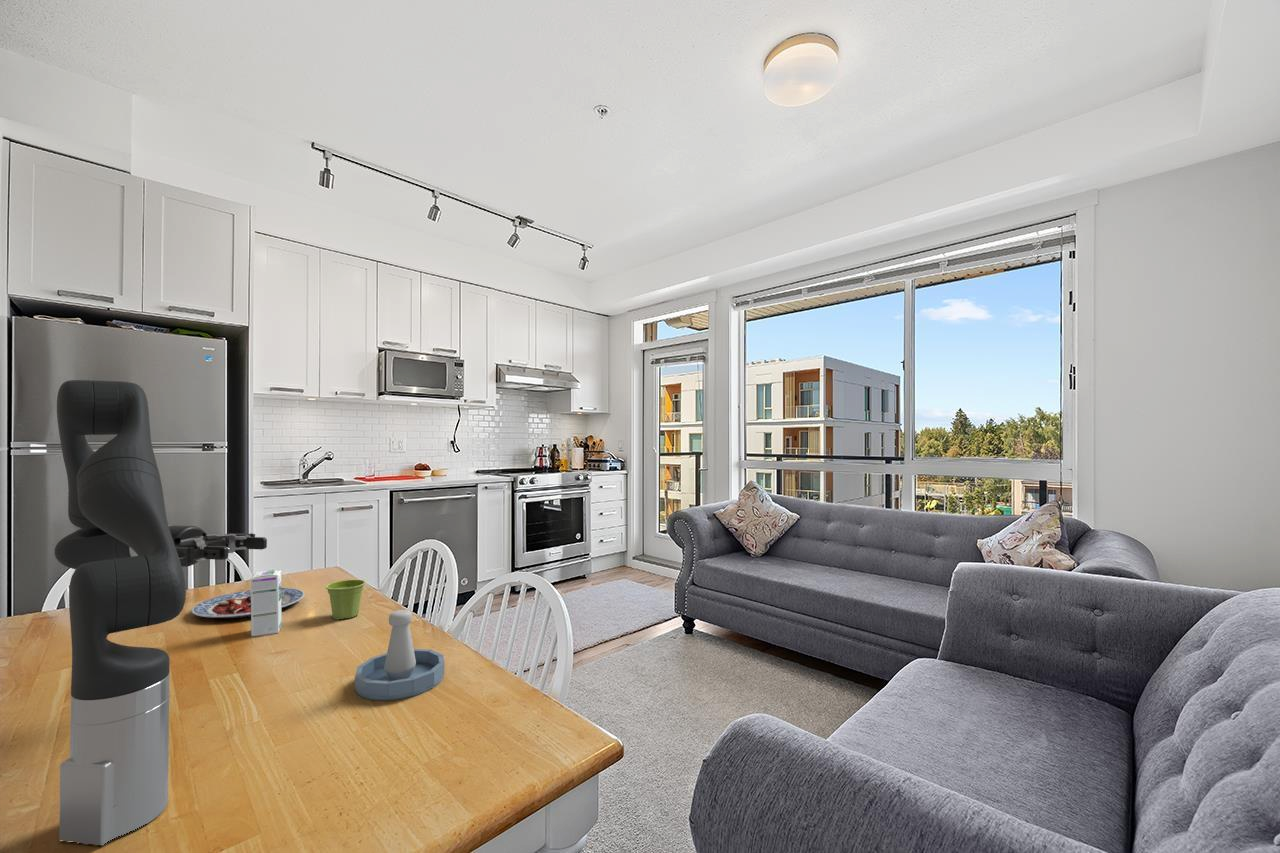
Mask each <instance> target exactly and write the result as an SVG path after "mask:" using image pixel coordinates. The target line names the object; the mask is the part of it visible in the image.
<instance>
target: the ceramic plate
mask: <svg viewBox="0 0 1280 853" xmlns="http://www.w3.org/2000/svg"><path fill="white" fill-rule="evenodd" d="M281 598H282V608H286V607H288V606H290V605H293V604H295V603H298V601H301V600H302V599H303V598H305V592H304V591H303V590H300V589H298V588H289V587H281ZM191 613H192V615H195V616H197V617H204V618H219V619H220V618H221V619H236V618H237V619H238V618H239V617H240V618H246V617H247V616H248V617H251V589H250V590H249V589H248V590H242V591H238V592H237V591H236V592H232V593H226V594H223V595H219V596H215V597H212V598H209V599H206V600H204V601H201V602H199V603H197V604H196V605H194V606H193V607H192V608H191Z"/></svg>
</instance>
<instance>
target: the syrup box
mask: <svg viewBox="0 0 1280 853" xmlns="http://www.w3.org/2000/svg"><path fill="white" fill-rule="evenodd" d="M281 588H282V570H281V569H271V570H270V569H269V570H262V571H257V572H254V574H253V575H252V576H251V578H250V590H251V616H250V634H251V635H250V636H251V637H261V636H268V635H274V634H279V632H280V630H281V628H282V626H283V620H282V618H283V617H282V616H283V614H282V611H283V610H282V608H283V607H282V598H281Z"/></svg>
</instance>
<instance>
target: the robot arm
mask: <svg viewBox="0 0 1280 853" xmlns="http://www.w3.org/2000/svg"><path fill="white" fill-rule="evenodd" d="M56 419H57V427H58V434H59V440H60V448H61V453H62V457H63V458H62V459H63V463H64V467H65V471H66V476H67V477H66V478H67V487H68V494H67V495H68V496H67V498H68V501H67V505H68V506H67V513H68V514H67V515H68V516H67V517H68V520H69V522H70V523H71V524H72V525H74V526H75V527H77V528H79V529H77V530H75V531H73V532H72V533H69V534H68V535H66V536H64V537H63V538H62V539H60V540H59V541H58V542H57V543H56V545H55V547H54V551H53V552H54V556H55V559H56V560H57V562H58V563H59V564H61V565H62V566H64V567H67V568H69V569H72V570H73V573H72V575H71V579H70V582H69V587H68V588H69V589H68V610H69V621H70V622H69V624H70V636H71V637H70V638H71V681H70V683H71V684H70V726H69V727H70V732H69V733H70V734H69V735H70V736H69V740H70V741H69V757H68V758H67V759H65V760H63V761H62V762H61V763H60V765H59V771H60V772H59V826H58V828H59V830H58V831H59V832H58V833H59V834H58V841H59V840H63V841H73V842H79V843H83V844H82V845H88V844H97V845H102V846H105V845H106V844H108V843H109V842H111V841H113V840H114V838H115V839H117V838H119V837H118V836H120V837H122V836H125V835H127V834H126V833H128V834H130V833H131V832H130V831H132V830H134V831H136V830H138V829H140V828H142V827H144V826H145V824H146V825H147V824H149V823H150V822H152V821H153V820H155V819H156V818H157V817H159V816H160V815H161V814H162V813H163V812H164V810H165V809H166V808H167V806H168V803H169V757H170V756H169V754H170V753H169V744H170V742H169V741H170V736H169V734H170V733H169V732H170V677H171V676H170V671H171V670H170V667H171V665H170V664H171V663H170V662H171V661H170V656H169V653H167V651H165V650H163V649H160V648H157V647H146V646H129V645H123V644H120V643H115V642H113V641H111V640H109V639H108V638H107V637H108V635H110V634H113V633H114V634H117V633H120V632H124V631H125V632H126V631H130V630H135V629H140V628H145V627H149V626H155V625H159V624H160V625H161V624H163V623H166V622H170V621H172V620H174V619H175V618H177V617H178V616H179V615H180V614H181V613H182V611H183V609H184V606H185V605H186V599H187V598H186V597H187V591H186V590H187V589H186V580H185V575H184V570H183V568H184V567H185V568H187V567H191V566H193V565H196V564H197V563H198V562H203V561H206V560H216V561H217V560H218V561H219V560H220V561H221V560H222V561H224V560H227V559H228V558H229V554H234V553H235V552H236V551H239V550H240V551H241V550H261V551H262V550H265V549H266V548H267V547H268V546H267V545H268V539H267V538H266V537H264V536H263V537H262V536H256V533H253V532H251V533H232V532H227V533H225V534H216V533H213V534H207V533H206V532H205V530H203V529H202V528H201V527H199V526H196V525H172V524H169V523H168V518H167V512H166V506H165V499H164V490H163V486H162V480H161V475H160V471H159V467H158V465H157V460H156V456H155V452H154V447H153V444H152V437H151V436H152V434H151V424H150V422H151V421H150V410H149V402H148V398H147V395H146V392H145V391H144V389H143V387H141V386H140V385H139V384H137V383H134V382H130V381H129V382H128V381H121V380H120V381H118V380H117V381H116V380H115V381H114V380H95V379H94V380H89V379H71V380H66V381H65V382H63V383H62V384H60V386H59V389H58V391H57V396H56ZM92 435H93V436H107V435H108V436H109V435H112V436H113V435H116V436H114V437H113V438H111V439H110V440H109V441H107V442H106V443H104V444H103V445H102V446H101V447H99V448H98V449H96V450H95V451H94V450H93V449H92V447H91V446H90V445H89V443H88V441H87V438H86V436H92ZM161 812H162V813H161ZM143 825H144V826H143ZM141 826H142V827H141ZM139 827H140V828H139ZM137 828H138V829H137ZM135 829H136V830H135ZM129 832H130V833H129ZM132 832H133V831H132ZM124 834H125V835H124ZM121 835H122V836H121ZM116 837H117V838H116ZM112 839H113V840H112ZM110 840H111V841H110ZM108 841H109V842H108ZM107 842H108V843H107ZM79 843H78V844H79ZM105 843H106V844H105ZM104 844H105V845H104ZM97 845H96V846H97Z"/></svg>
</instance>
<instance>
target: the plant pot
mask: <svg viewBox="0 0 1280 853" xmlns="http://www.w3.org/2000/svg"><path fill="white" fill-rule="evenodd" d="M365 584H366V581H365V580H363V579H344V580H339V581H333V582H331V583H329V584H327V585H325V589H326V590H327V593H328V595H329V599H330V600H329V601H330V606H331V613H332V614H331V616H332V618H333V620H339V619H341V620H344V619H348V618H349V619H352V618H351V617H353V618H355V617H357V616H359V614H360V605H361V600H362V593H363V589H364V587H365ZM356 615H357V616H356ZM354 616H355V617H354Z"/></svg>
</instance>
